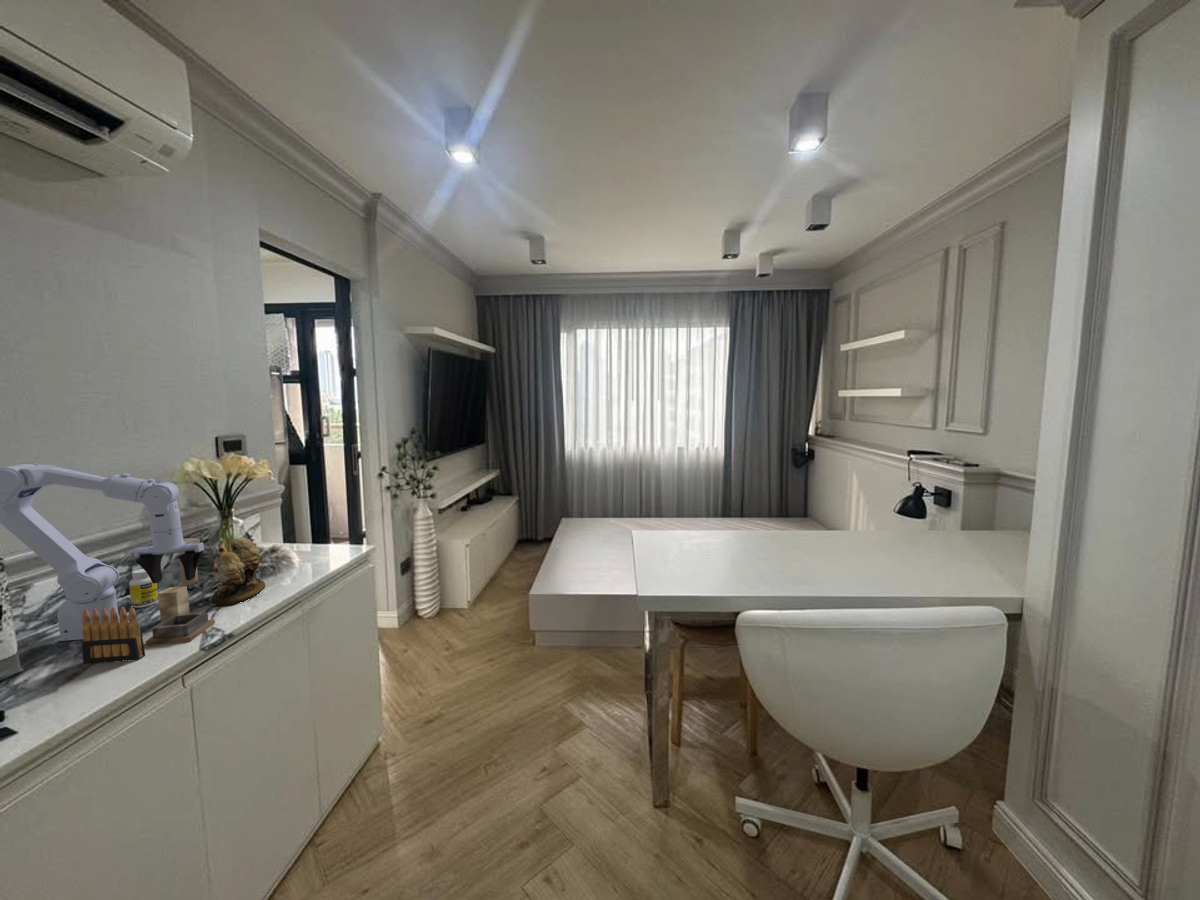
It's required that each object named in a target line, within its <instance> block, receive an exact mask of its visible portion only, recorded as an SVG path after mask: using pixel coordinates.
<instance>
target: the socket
mask: <svg viewBox="0 0 1200 900" xmlns="http://www.w3.org/2000/svg"><path fill="white" fill-rule="evenodd" d="M214 623H215V619H209V615H208V612H207V611H205V612H192V613H191V612H190V613H189V614H176V615H173V616H172V617H170V618H168V619H167V620H165V621H164V622H162V623H161V622H160V623H159V624H157V625H155V626H154V627H152V628H151V630H152V637H150V638H148V639H147V640H146V641H145V646H153V645H165V644H174V643H175V644H176V643H184V642H185V643H186V642H187V643H188V642H191V641H194V640H195V639H196V638H197V637H198V636H200V635H201V634H203V633H204V632H205V631H206V629H207V630H208V629H209V628H210V626H211V627H212V626H213V625H215V624H216V623H215V624H214Z"/></svg>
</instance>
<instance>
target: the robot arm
mask: <svg viewBox="0 0 1200 900" xmlns="http://www.w3.org/2000/svg"><path fill="white" fill-rule="evenodd" d="M51 485H52V486H53V485H56V486H57V485H58V486H65V487H72V488H79V489H85V490H94V491H99V492H101V493H102V494H103V495H104V496H105V497H106V498H109V499H115V500H122V501H128V502H132V503H133V502H134V503H140V504H141V503H142V504H143V505H144V506H145V507H147V508H146V509H147V512H148V513H147V514H148V515H147V516H148V521H149V527H150V528H149V529H150V535H151V536H150V537H151V541H152V545H150V546H139V547H137V548H135V549H133V556H134V558H137V559H136V560H135V563H136V564H137V565H139V566H140V567H141V569H144V570H145V571H146V573H147V574H148V576H149V577H150V579H151V581H152V583H157V584H158V583H159V582H161V581H162V580H163V574H162V565H161V564H162V556H163V555H169V554H170V555H171V554H179V553H183V552H185V554H182V555H180V556H179V555H178V559H179V562H180V561H181V562H182V565H183V567H184V572H185V577H186V580H191V579H193V578H195V573H196V568H197V569H198V565H199V564H198V563H199V561H200V558H201V556H202V555H203V553H204V550H205V545H204V542H200V543H187V542H184V541H183V539H184V536H183V530H182V528H183V527H182V523H181V522H182V521H181V515H180V509H179V504H178V503H179V502H178V500H177V499H178V498H179V496H180V494H181V490H180V487H179V486H178V485H177V484H175V483H173V482H170V481H169V480H162V481H158V482H156V479H155V478H149V479H143V478H138V477H134V476H131V474H130V473H126V472H125V473H121V474H113V475H112V476H109V477H105V476H101V475H96V474H92V473H87V472H83V471H79V470H73V469H70V468H69V469H68V468H63V467H59V466H55V465H53V464H42V463H41V464H39V463H36V462H22V463H18V464H15V465H14V464H13V465H9V466H0V524H1V526H3V527H4V528H5V529H6V530H7V531H9V532H10V533H12V535H14V536H15V537H16V538H17V539H18V540H19V541H21V543H23V544H24V545H25V546H26V547H28V548H29V549H30V550H31V551H32V552H33V553H35V554H36V555H37V556H38V557H39V558H41V559H42V561H44V562H45V563H46V564H47V565H49V566H50V567H51V568H52V569H53V570H54V571H56V572H57V576H56V577H57V579H56V583H57V584H58V585H60V587H61V588H62V590H63V593H64V596H65V597H66V600H65V601H64V602H63V603H61V604H60V606H59V607H58V610H57V622H58V628H59V629H58V630H59V638H57V639H56V641H57V642H66V641H67V642H68V641H77V640H83V633H82V628H83V620H82V617H83V612H84V610H85V609H87V610H88V612H89V614H90V617H91V622H92V612H93V609H94V608H95V609H96V610H97V611H98V613H99V616H100V621H101V612H102V609H103V608H105V609H106V610H107V612H108V615H109V620H110V612H111V609H112V608H113V607H114V608H115V610H116V612H117V614H118V619H119V623H120V618H119V607H118V599H117V592H116V588H115V585H116V584H117V582H118V581H119V579H120V573H119V571H118V569H117V568H116V567H114V566H112V565H109V564H105V563H103V562H102V561H101V560H100V559H98V558H94V557H90V556H88V555H85V554H84V553H83V552H82V551H81V550H80V549H79V548H78V547H76V545H74V543H72V542H71V541H70V540H69V539H67V538H66V536H64V535H63V534H62V533H61V532H60V531H59V530H58V529H56V528H55V527H54V526H53V525H52V524H51V523H50V522H49V521H47V519H45V518H44V517H43V516H42V515H41V514H40V513H39V512H37V511H36V510H35V509H34V508H33V507H32V503H33V501H34V498H35V496H36V494H37V493H38V492H40V490H41V489H42V488H43V487H46V486H51ZM128 622H129V620H128Z"/></svg>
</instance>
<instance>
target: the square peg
mask: <svg viewBox="0 0 1200 900" xmlns="http://www.w3.org/2000/svg"><path fill="white" fill-rule="evenodd" d="M188 592H189V590H187V586H183V585H182V586H171V587H168V588H166V589H164V590H162V591H160V592H158V606H159V615H160V623H162V622H164V621H165V620H167V619H168V618H170V617H172V616H173V615H176V614H189V613H191V610H190V602H189V593H188Z"/></svg>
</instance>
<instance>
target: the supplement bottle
mask: <svg viewBox="0 0 1200 900" xmlns="http://www.w3.org/2000/svg"><path fill="white" fill-rule="evenodd" d="M131 576H132V578H131V580H129V582H128V586H129V596H130V607H131V606H132V607H134V609H139V608H145V607H149V606H152V605H154V604H156V603H159V598H158V593H159V592H158V582H157V583H152V581H151V579H150V577H149V576H148V574H147V573H146V571H145V570H144V569H143V568H139V569H136V570H133V571H132V572H131Z"/></svg>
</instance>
